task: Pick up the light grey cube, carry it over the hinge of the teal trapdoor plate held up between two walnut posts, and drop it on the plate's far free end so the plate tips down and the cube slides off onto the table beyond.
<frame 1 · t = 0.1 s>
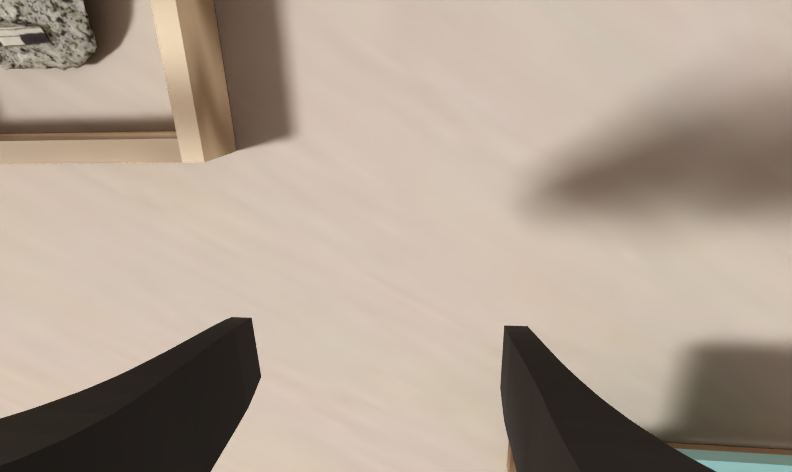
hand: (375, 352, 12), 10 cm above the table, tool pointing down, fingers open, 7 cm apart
frame: (651, 455, 25), on the table
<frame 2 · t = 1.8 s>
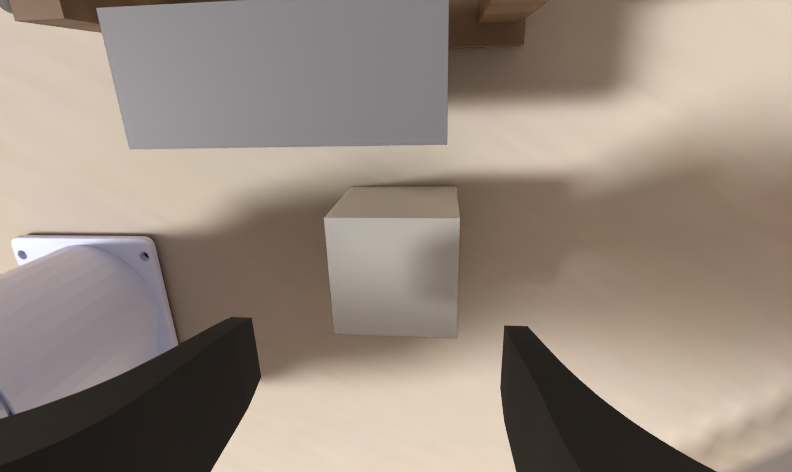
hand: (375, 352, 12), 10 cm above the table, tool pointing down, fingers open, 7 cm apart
light grey cube: (399, 255, 19), point 2 cm above the table
frame: (327, 11, 18), on the table
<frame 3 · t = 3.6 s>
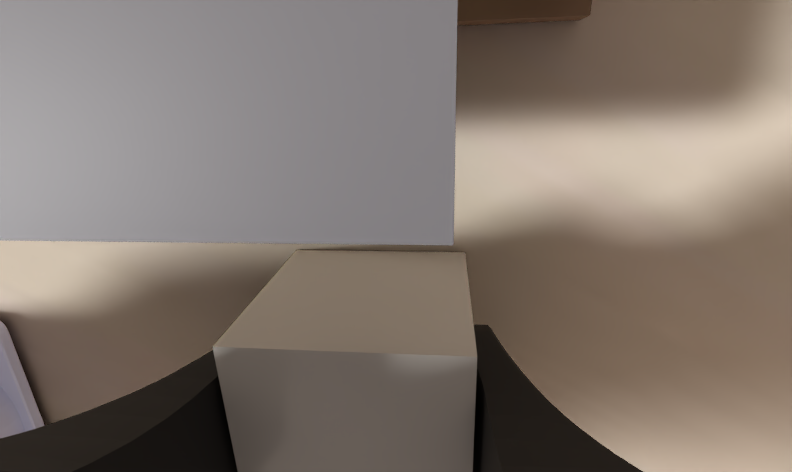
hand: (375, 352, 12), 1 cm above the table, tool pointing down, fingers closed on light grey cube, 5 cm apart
light grey cube: (369, 376, 11), point 2 cm above the table, touching gripper
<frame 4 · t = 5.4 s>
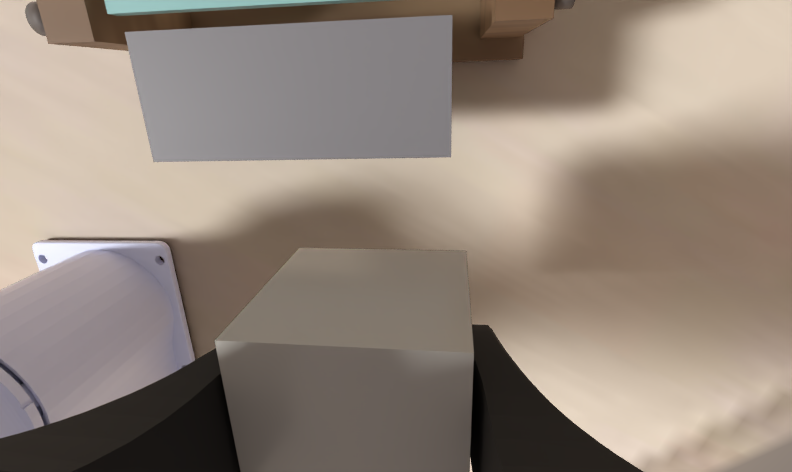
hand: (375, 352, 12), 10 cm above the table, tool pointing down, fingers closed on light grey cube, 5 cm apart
light grey cube: (369, 373, 11), point 11 cm above the table, touching gripper
frame: (335, 27, 19), on the table
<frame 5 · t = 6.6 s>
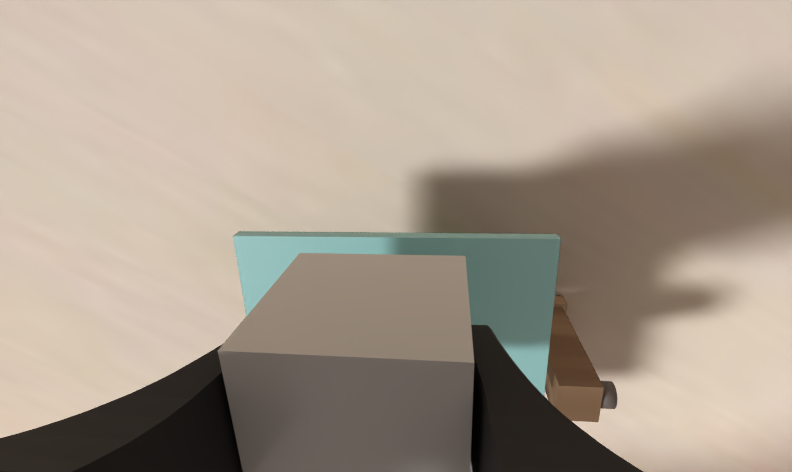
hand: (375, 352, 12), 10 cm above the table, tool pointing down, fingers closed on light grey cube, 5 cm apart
light grey cube: (370, 378, 11), point 11 cm above the table, touching gripper
trapdoor: (395, 365, 17), point 6 cm above the table, hinge at 0.0°
frame: (408, 309, 23), on the table
when the fingers open (10 cm above the table, at t = 7.3 s): light grey cube drops 3 cm, resting on trapdoor.
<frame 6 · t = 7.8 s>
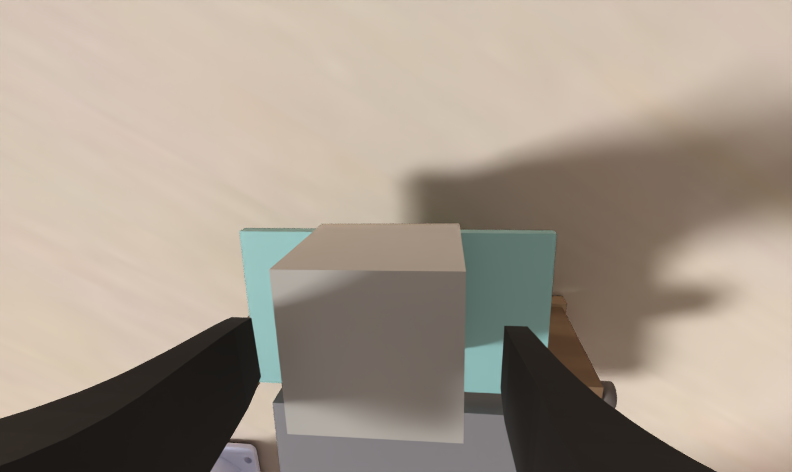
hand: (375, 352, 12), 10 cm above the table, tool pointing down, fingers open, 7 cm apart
light grey cube: (382, 317, 14), point 9 cm above the table, touching trapdoor
trapdoor: (395, 364, 17), point 6 cm above the table, hinge at -4.7°, touching light grey cube
frame: (408, 309, 23), on the table
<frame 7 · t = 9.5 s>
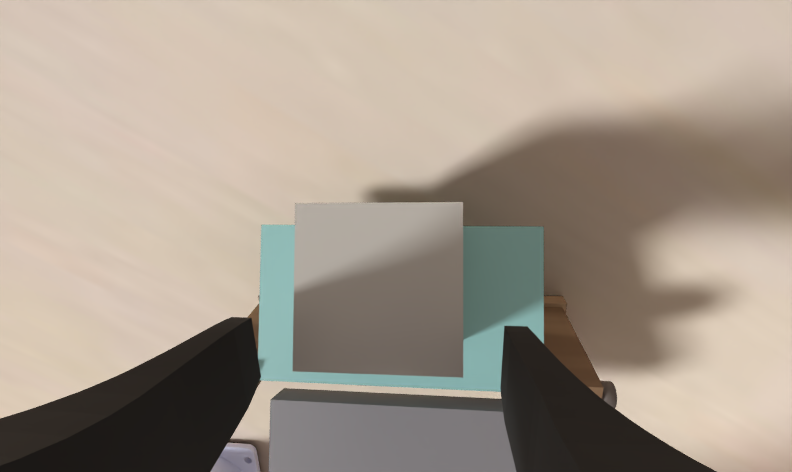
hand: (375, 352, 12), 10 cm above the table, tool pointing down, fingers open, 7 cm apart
light grey cube: (387, 282, 15), point 7 cm above the table, tilted 22°, touching trapdoor
trapdoor: (396, 361, 18), point 6 cm above the table, hinge at -22.5°, touching light grey cube
frame: (408, 309, 23), on the table
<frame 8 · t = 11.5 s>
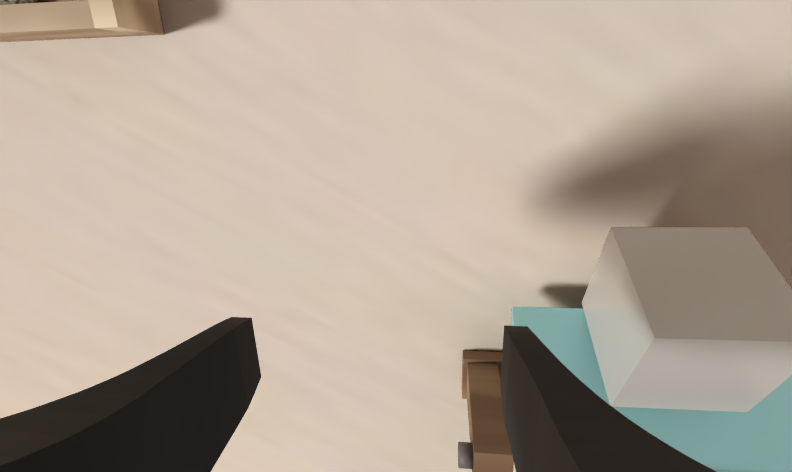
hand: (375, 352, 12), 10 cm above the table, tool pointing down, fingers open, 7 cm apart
light grey cube: (677, 318, 17), point 5 cm above the table, tilted 65°, touching trapdoor
trapdoor: (661, 442, 18), point 6 cm above the table, hinge at -44.0°, touching light grey cube
frame: (611, 371, 23), on the table
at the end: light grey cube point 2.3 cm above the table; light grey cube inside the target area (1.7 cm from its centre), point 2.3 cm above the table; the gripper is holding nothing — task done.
